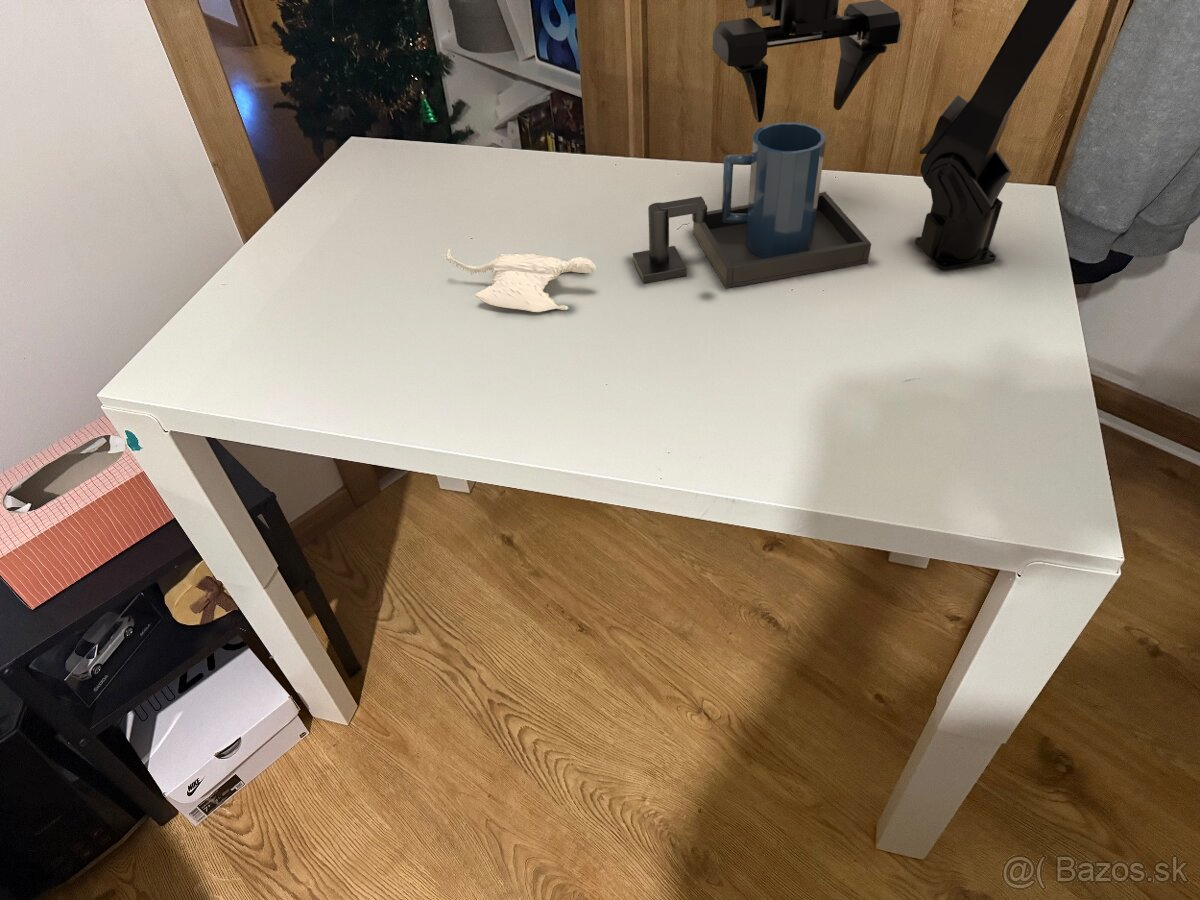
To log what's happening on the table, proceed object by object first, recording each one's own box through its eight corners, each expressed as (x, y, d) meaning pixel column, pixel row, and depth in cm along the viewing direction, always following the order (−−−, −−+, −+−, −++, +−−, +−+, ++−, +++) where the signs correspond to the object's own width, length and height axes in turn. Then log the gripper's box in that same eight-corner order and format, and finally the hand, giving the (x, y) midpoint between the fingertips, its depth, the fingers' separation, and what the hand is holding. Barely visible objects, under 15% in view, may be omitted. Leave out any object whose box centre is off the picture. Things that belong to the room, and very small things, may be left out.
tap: (643, 283, 91) (641, 221, 85) (632, 260, 94) (630, 199, 89) (711, 271, 92) (714, 209, 86) (698, 249, 95) (700, 187, 90)
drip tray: (822, 210, 99) (825, 191, 98) (867, 263, 91) (871, 243, 89) (692, 232, 98) (693, 213, 96) (725, 288, 89) (727, 268, 87)
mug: (810, 227, 96) (824, 122, 87) (812, 262, 91) (827, 153, 82) (721, 226, 97) (726, 122, 89) (718, 259, 92) (723, 152, 83)
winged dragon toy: (428, 306, 90) (420, 274, 87) (459, 257, 97) (452, 226, 94) (587, 319, 87) (583, 286, 84) (607, 267, 93) (605, 235, 91)
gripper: (867, -75, 87) (846, 77, 98) (698, -52, 85) (695, 100, 96) (918, -49, 79) (889, 113, 90) (733, -24, 77) (726, 138, 88)
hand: (797, 114), depth 91 cm, fingers open, 9 cm apart
